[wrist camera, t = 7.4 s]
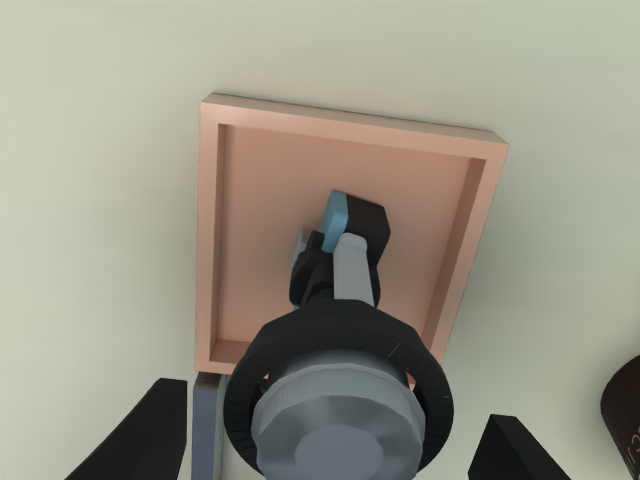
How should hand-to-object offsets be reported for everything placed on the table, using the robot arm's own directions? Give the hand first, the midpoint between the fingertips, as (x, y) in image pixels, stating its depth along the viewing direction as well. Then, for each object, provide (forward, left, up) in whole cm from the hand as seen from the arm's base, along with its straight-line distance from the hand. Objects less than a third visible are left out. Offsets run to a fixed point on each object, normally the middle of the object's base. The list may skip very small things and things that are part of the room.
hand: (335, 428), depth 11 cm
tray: (0, 0, -9) cm, 9 cm away
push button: (0, 0, -9) cm, 9 cm away
